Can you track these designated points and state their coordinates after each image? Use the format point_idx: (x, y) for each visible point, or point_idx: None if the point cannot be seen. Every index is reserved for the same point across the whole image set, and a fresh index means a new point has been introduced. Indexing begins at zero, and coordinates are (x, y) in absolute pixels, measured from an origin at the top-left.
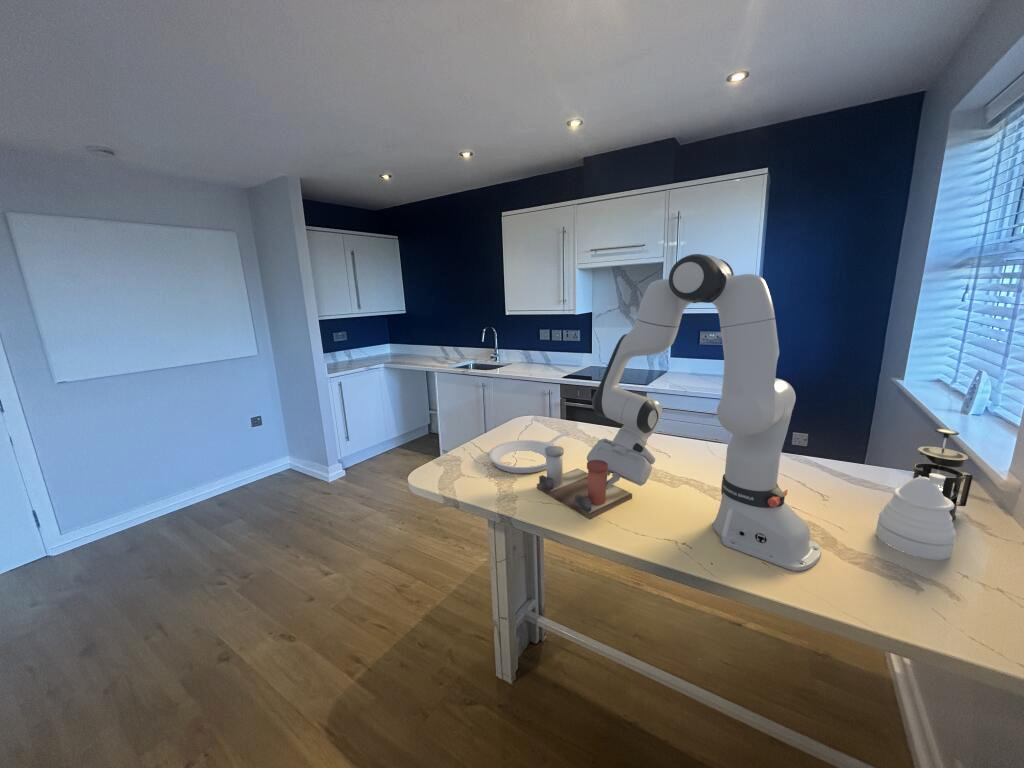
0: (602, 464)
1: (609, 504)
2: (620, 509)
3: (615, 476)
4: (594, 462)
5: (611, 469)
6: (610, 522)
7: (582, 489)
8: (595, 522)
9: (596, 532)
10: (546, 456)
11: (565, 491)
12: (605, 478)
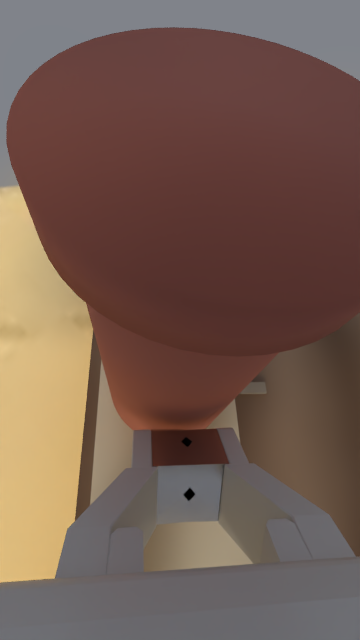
0: (155, 166)
1: (88, 422)
2: (38, 489)
3: (69, 538)
4: (326, 145)
5: (185, 576)
6: (8, 332)
7: (341, 426)
8: (66, 283)
9: (15, 238)
10: None
11: (357, 331)
12: (89, 314)
